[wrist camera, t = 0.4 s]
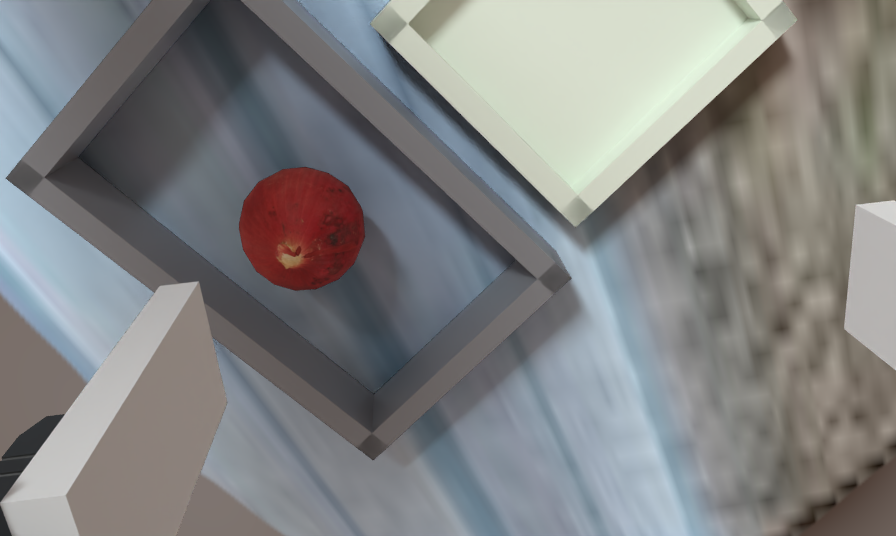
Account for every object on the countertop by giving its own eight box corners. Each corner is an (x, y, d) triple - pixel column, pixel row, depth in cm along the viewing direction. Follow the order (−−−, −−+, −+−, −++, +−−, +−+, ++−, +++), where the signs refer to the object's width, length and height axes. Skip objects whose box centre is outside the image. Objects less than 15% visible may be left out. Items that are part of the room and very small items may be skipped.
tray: (371, 20, 37) (370, 24, 35) (587, -217, 34) (601, -230, 32) (565, 213, 42) (575, 227, 39) (773, 16, 39) (797, 19, 36)
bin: (42, 158, 39) (5, 178, 35) (228, -66, 36) (209, -69, 32) (375, 419, 45) (373, 460, 42) (555, 250, 42) (571, 278, 39)
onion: (360, 147, 40) (352, 188, 32) (372, 253, 42) (367, 315, 34) (245, 156, 39) (210, 201, 32) (263, 262, 42) (234, 327, 34)
